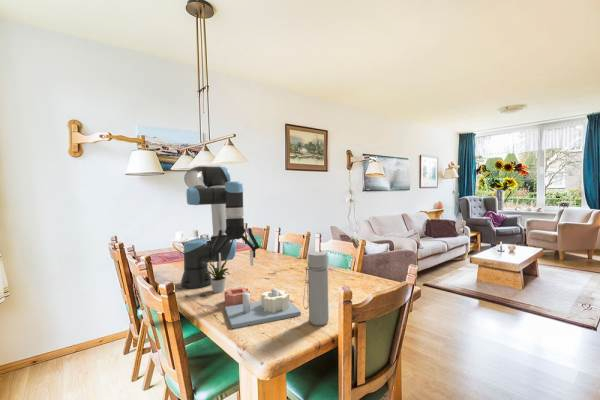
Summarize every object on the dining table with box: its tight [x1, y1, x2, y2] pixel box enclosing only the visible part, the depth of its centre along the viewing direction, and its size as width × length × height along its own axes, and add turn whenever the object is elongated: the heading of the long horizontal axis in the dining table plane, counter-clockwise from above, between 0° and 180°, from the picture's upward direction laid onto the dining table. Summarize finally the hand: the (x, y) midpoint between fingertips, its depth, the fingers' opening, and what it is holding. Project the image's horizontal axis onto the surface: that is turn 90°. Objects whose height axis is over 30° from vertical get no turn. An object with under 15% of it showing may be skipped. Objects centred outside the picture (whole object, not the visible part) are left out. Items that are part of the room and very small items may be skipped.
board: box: [224, 287, 302, 329], centre depth 112 cm, size 17×26×8 cm, turn 113°
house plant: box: [204, 259, 230, 294], centre depth 137 cm, size 14×14×16 cm
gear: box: [223, 286, 251, 307], centre depth 123 cm, size 10×10×5 cm
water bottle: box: [302, 251, 330, 326], centre depth 103 cm, size 9×8×25 cm
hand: (236, 267), depth 123 cm, fingers open, 13 cm apart
